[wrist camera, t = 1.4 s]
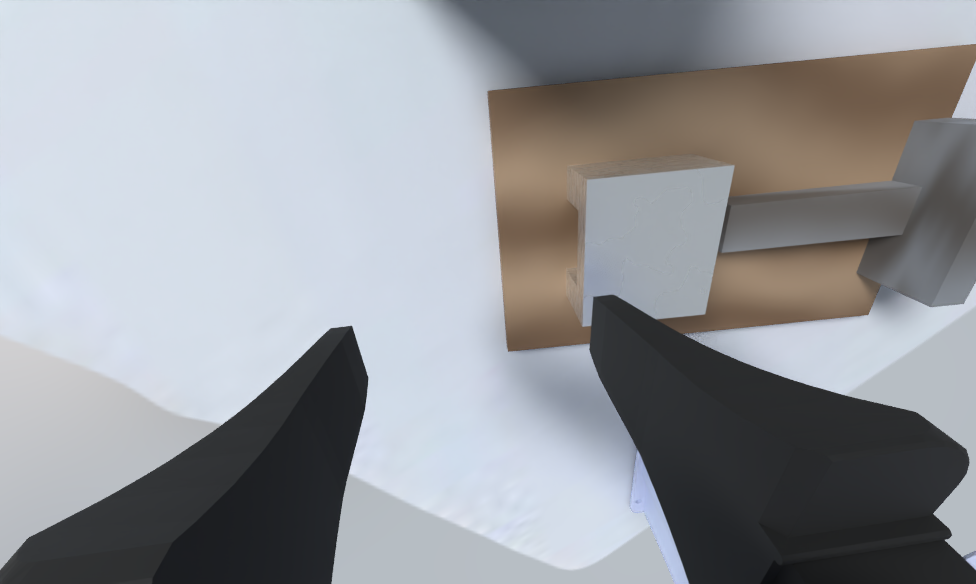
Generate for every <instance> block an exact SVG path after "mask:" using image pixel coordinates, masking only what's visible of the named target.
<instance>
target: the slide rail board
mask: <svg viewBox="0 0 976 584" xmlns="http://www.w3.org/2000/svg"><path fill="white" fill-rule="evenodd" d="M975 61H976V44H971V45H961V46H950V47H940V48H929V49H919V50H909V51H898V52H888V53H877V54H867V55H857V56H846V57H836V58H825V59H815V60H805V61H794V62H784V63H773V64H763V65H752V66H742V67H732V68H721V69H711V70H700V71H690V72H680V73H669V74H659V75H648V76H638V77H628V78H617V79H607V80H596V81H586V82H576V83H565V84H555V85H544V86H534V87H524V88H513V89H503V90H492V91H488V105H489V118H490V131H491V144H492V157H493V170H494V183H495V196H496V209H497V222H498V235H499V249H500V262H501V275H502V288H503V301H504V314H505V327H506V340H507V348H508V352H509V351H519V350H528V349H538V348H548V347H558V346H568V345H577V344H587V343H590V336H591V326H585V327H582V325H581V323H580V321H579V319H578V317H577V315H576V313H575V311H574V309H573V307H572V305H571V303H570V301H569V299H568V297H567V295H566V269H567V268H577V252H578V210H577V209H576V208H575V207H574V206H573V205H572V204H571V203H570V202H569V201H568V200H567V166H570V165H580V164H590V163H600V162H611V161H621V160H631V159H641V158H652V157H662V156H672V155H682V154H694V155H698V156H702V157H706V158H709V159H713V160H717V161H721V162H725V163H728V164H732V165H735V167H734V172H733V177H732V182H731V187H730V192H729V197H728V202H727V207H726V212H725V217H724V222H723V227H722V232H721V237H720V242H719V247H718V252H717V257H716V262H715V267H714V272H713V277H712V282H711V287H710V292H709V297H708V302H707V307H706V312H705V314H703V315H694V316H684V317H674V318H664V319H656V320H658V321H660V322H661V323H663V324H665V325H667V326H668V327H670V328H672V329H674V330H676V331H677V332H679V333H681V334H685V333H695V332H705V331H715V330H724V329H734V328H744V327H754V326H764V325H773V324H783V323H793V322H803V321H813V320H822V319H832V318H842V317H852V316H862V315H868V314H869V312H870V309H871V307H872V305H873V302H874V300H875V298H876V295H877V293H878V290H879V288H880V286H881V285H884V286H886V287H888V288H890V289H892V290H894V291H897V292H899V293H901V294H903V295H905V296H908V297H910V298H912V299H914V300H916V301H918V302H921V303H923V304H925V305H927V306H929V307H937V306H947V305H957V304H964V302H965V300H966V299H967V297H968V295H969V293H970V291H971V289H972V288H973V286H974V284H975V282H976V119H964V118H952V115H953V113H954V111H955V108H956V106H957V103H958V101H959V99H960V96H961V94H962V92H963V89H964V87H965V85H966V82H967V80H968V77H969V75H970V73H971V70H972V68H973V66H974V63H975Z"/></svg>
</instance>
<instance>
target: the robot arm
mask: <svg viewBox="0 0 976 584" xmlns="http://www.w3.org/2000/svg"><path fill="white" fill-rule="evenodd" d="M590 353H591V356H592V359H593V362H594V364H595V367H596V370H597V372H598V375H599V377H600V380H601V382H602V384H603V385H604V387H605V389H606V391H607V393H608V395H609V397H610V399H611V401H612V402H613V404H614V406H615V408H616V410H617V412H618V413H619V415H620V417H621V419H622V421H623V423H624V425H625V426H626V428H627V430H628V432H629V434H630V436H631V438H632V439H633V441H634V443H635V445H636V447H637V453H636V461H635V469H634V476H633V484H632V492H631V500H630V509H631V511H632V512H634V513H640V512H644V513H645V516H646V518H647V520H648V523H649V525H650V527H651V529H652V532H653V534H654V536H655V538H656V541H657V544H658V546H659V548H660V551H661V553H662V555H663V558H664V560H665V562H666V564H667V567H668V569H669V572H670V574H671V576H672V579H673V581H674V583H675V584H976V551H974V552H972V553H970V554H967V555H965V556H964V557H961V555H960V554H958V553H957V552H956V551H955V550H954V549H953V548H952V547H951V546H950V545H949V544H948V543H947V542H946V541H945V539H949V538H950V537H951V536H952V534H951V531H950V529H949V528H948V527H947V526H945V525H944V524H943V523H942V522H941V521H940V520H939V519H938V518H937V517H936V516H934V515H933V513H934V512H935V511H936V509H937V508H938V507H939V506H940V505H941V504H942V503H943V502H944V500H945V499H946V498H947V497H948V496H949V495H950V494H951V493H952V491H953V490H954V489H955V488H956V487H957V486H958V485H959V483H960V482H961V480H962V479H963V478H964V476H965V475H966V473H967V470H968V466H969V457H968V453H967V450H966V449H965V448H963V447H962V446H961V445H960V444H958V443H957V442H956V441H954V440H953V439H952V438H950V437H949V436H948V435H946V434H945V433H944V432H942V431H941V430H940V429H938V428H937V427H936V426H934V425H933V424H932V423H930V422H929V421H928V420H926V419H925V418H924V417H922V416H921V415H919V414H918V413H916V412H913V411H908V410H905V409H900V408H896V407H892V406H887V405H883V404H879V403H874V402H870V401H866V400H861V399H857V398H852V397H848V396H845V395H841V394H838V393H834V392H831V391H827V390H824V389H820V388H816V387H813V386H810V385H806V384H803V383H800V382H797V381H794V380H790V379H787V378H784V377H782V376H779V375H776V374H773V373H770V372H767V371H764V370H762V369H759V368H756V367H754V366H751V365H748V364H746V363H743V362H741V361H738V360H736V359H734V358H731V357H729V356H727V355H724V354H722V353H720V352H717V351H715V350H713V349H711V348H709V347H707V346H705V345H702V344H701V343H699V342H697V341H695V340H693V339H691V338H689V337H687V336H685V335H683V334H681V333H679V332H677V331H676V330H674V329H672V328H670V327H668V326H667V325H665V324H663V323H661V322H660V321H658V320H656V319H655V318H653V317H651V316H649V315H648V314H646V313H644V312H643V311H641V310H639V309H638V308H636V307H634V306H633V305H631V304H629V303H628V302H626V301H624V300H623V299H621V298H619V297H617V296H615V295H604V296H596V297H593V308H592V322H591V336H590ZM367 387H368V376H367V372H366V369H365V366H364V363H363V360H362V356H361V353H360V350H359V347H358V344H357V340H356V337H355V334H354V331H353V328H352V326H347V327H339V328H331V329H330V330H329V331H327V332H326V333H325V334H324V335H323V336H322V337H321V338H320V339H319V340H318V341H317V342H316V343H315V344H314V345H313V346H312V347H311V348H310V349H309V350H308V351H307V352H306V353H305V354H304V355H303V356H302V357H301V358H299V359H298V360H297V361H296V362H295V363H294V364H293V365H292V366H291V367H290V368H289V369H288V370H287V371H286V372H285V373H284V374H283V375H282V376H281V377H279V378H278V379H277V380H276V381H275V382H274V383H273V384H272V385H270V386H269V387H268V388H267V389H266V390H265V391H264V392H262V393H261V394H260V395H259V396H258V397H257V398H256V399H255V400H253V401H252V402H251V403H250V404H248V405H247V406H246V407H245V408H243V409H242V410H241V411H240V412H238V413H237V414H236V415H235V416H233V417H232V418H231V419H229V420H228V421H227V422H225V423H224V424H223V425H221V426H220V427H219V428H217V429H216V430H214V431H213V432H212V433H210V434H209V435H207V436H206V437H204V438H203V439H201V440H200V441H198V442H197V443H195V444H194V445H192V446H191V447H189V448H188V449H186V450H185V451H183V452H182V453H181V454H179V455H177V456H176V457H174V458H173V459H171V460H170V461H168V462H166V463H165V464H163V465H162V466H160V467H159V468H157V469H155V470H153V471H152V472H150V473H148V474H147V475H145V476H143V477H142V478H140V479H138V480H136V481H135V482H133V483H131V484H130V485H128V486H126V487H124V488H123V489H121V490H119V491H117V492H116V493H114V494H112V495H110V496H108V497H106V498H105V499H103V500H101V501H99V502H97V503H95V504H93V505H91V506H90V507H88V508H86V509H84V510H82V511H80V512H78V513H76V514H74V515H72V516H70V517H68V518H66V519H65V520H62V521H61V522H59V523H57V524H55V525H53V526H51V527H49V528H47V529H45V530H43V531H41V532H39V533H37V534H35V535H33V536H31V537H29V538H28V539H27V540H26V541H25V542H24V543H23V545H22V546H21V547H20V548H19V549H18V550H17V552H16V553H15V554H14V555H13V556H12V557H11V558H10V560H9V561H8V562H7V563H6V564H5V565H4V567H3V568H2V569H1V570H0V584H331V582H332V573H333V565H334V557H335V550H336V541H337V534H338V527H339V520H340V514H341V508H342V501H343V495H344V491H345V486H346V481H347V477H348V474H349V470H350V466H351V462H352V458H353V454H354V450H355V447H356V443H357V439H358V435H359V431H360V427H361V423H362V419H363V415H364V411H365V404H366V397H367Z"/></svg>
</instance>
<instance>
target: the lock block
mask: <svg viewBox="0 0 976 584" xmlns="http://www.w3.org/2000/svg"><path fill="white" fill-rule="evenodd" d="M734 167H735V165H732V164H728V163H725V162H721V161H717V160H713V159H709V158H706V157H702V156H698V155H694V154H682V155H672V156H662V157H652V158H641V159H631V160H621V161H611V162H600V163H590V164H580V165H570V166H567V200H568V201H569V202H570V203H571V204H572V205H573V206H574V207H575V208H576V209H577V210H578V252H577V268H567V269H566V295H567V297H568V299H569V301H570V303H571V305H572V307H573V309H574V311H575V313H576V315H577V317H578V319H579V321H580V323H581V325H582V327H585V326H591V322H592V308H593V297H596V296H604V295H615V296H617V297H619V298H621V299H623V300H624V301H626V302H628V303H629V304H631V305H633V306H634V307H636V308H638V309H639V310H641V311H643V312H644V313H646V314H648V315H649V316H651V317H653V318H655V319H664V318H674V317H684V316H694V315H703V314H705V312H706V307H707V302H708V297H709V292H710V287H711V282H712V277H713V272H714V267H715V262H716V257H717V252H718V247H719V242H720V237H721V232H722V227H723V222H724V217H725V212H726V207H727V202H728V197H729V192H730V187H731V182H732V177H733V172H734Z"/></svg>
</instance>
